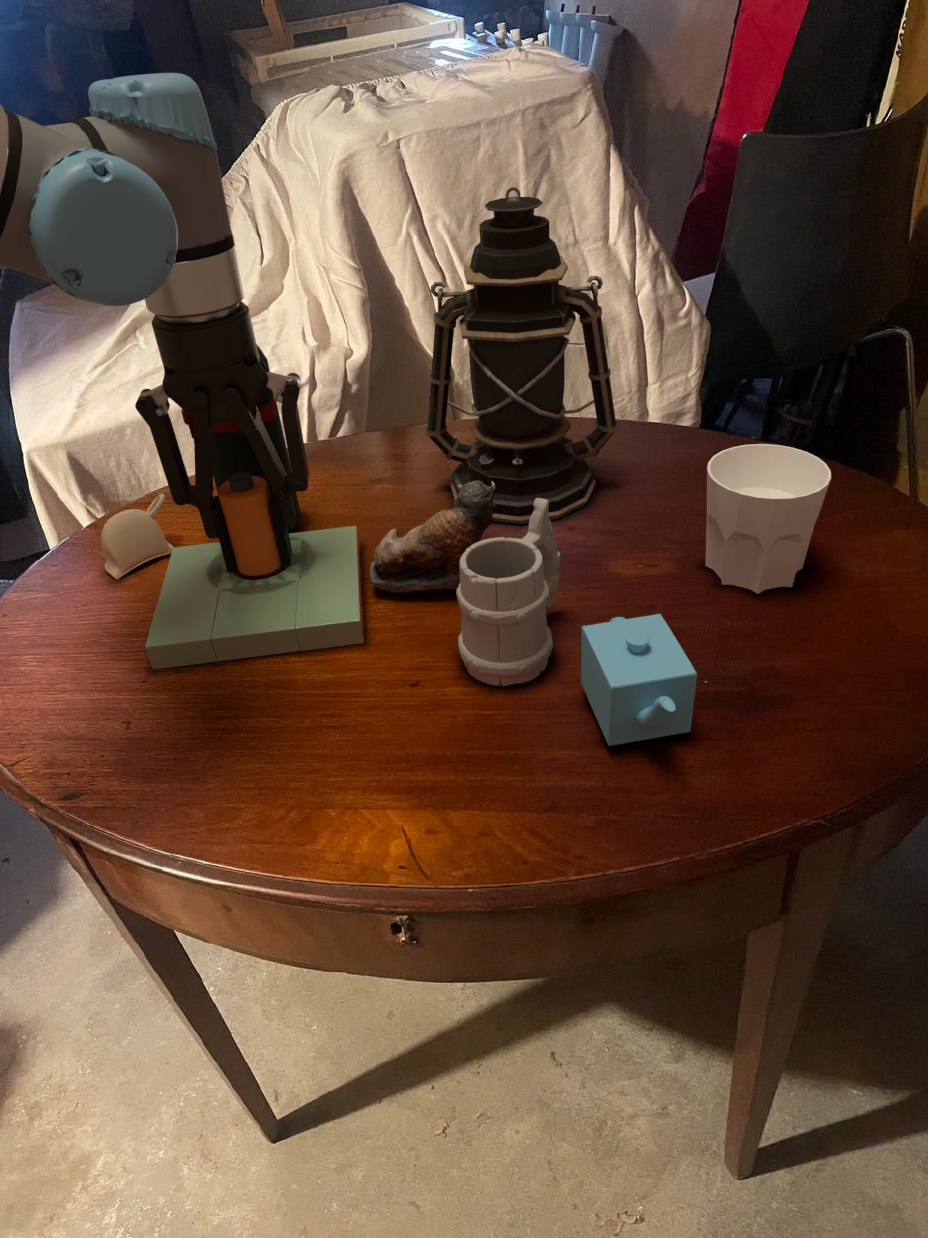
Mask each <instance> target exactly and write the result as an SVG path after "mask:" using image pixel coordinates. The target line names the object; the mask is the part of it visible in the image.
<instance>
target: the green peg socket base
mask: <svg viewBox="0 0 928 1238" xmlns="http://www.w3.org/2000/svg"><path fill="white" fill-rule="evenodd" d="M358 533H359V532H358V527H357V525H351V526H350V525H349V526H340V527H333V528H332V527H331V528H324V529H316V530H308V531H299V532H298V533H290V534H289V538H290V543H291V547H292V556H291V565H284V566H283V565H282V566H281V567H280V568H278V569H277V570H279V571H281V572H279V573H277V574H275V575H273V576H269V577H267V578H262V579H261V578H260V579H247V578H248V577H250V576H249V575H245V574H242V573H241V572H240V571H239V570H238V569H237V567H236V571H234V572H227V568H226V564H225V561H224V557H223V553H222V550H221V546H220V542H219V541H218V542H209V543H200V544H193V545H183V546H176V547H174V546H173V547H174V548H173V550H172V553H171V554H170V556H169V557H170V558H169V560H168V564H167V568H166V571H165V576H164V578H163V582H162V586H161V589H160V593H159V596H158V600H157V603H156V606H155V611H154V614H153V617H152V620H151V623H150V628H149V630H148V636H147V638H146V642H145V646H144V649H145V652H146V655H147V657H148V660H149V663H150V666H151V669H152V670H153V671H154V670H155V671H156V670H162V669H171V668H176V667H177V668H178V667H186V666H192V665H193V666H194V665H202V664H209V663H210V664H211V663H217V662H224V661H233V660H242V659H249V658H257V657H264V656H272V655H279V654H280V655H281V654H288V653H289V654H290V653H297V652H304V651H313V650H320V649H329V648H337V647H344V646H353V645H359V644H365V636H364V633H365V632H364V613H363V612H364V611H363V609H364V608H363V590H362V566H361V546H360V539H359V534H358Z"/></svg>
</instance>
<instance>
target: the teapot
mask: <svg viewBox="0 0 928 1238" xmlns="http://www.w3.org/2000/svg"><path fill="white" fill-rule="evenodd" d="M580 641H581V645H580V647H581V649H580V658H581V659H580V684H581V686H582V688H583V691H584V693H585V696H586V697H587V700H588V703H589V705H590V707H591V709H592V711H593V714H594V716H595V718H596V720H597V723H598V725H599V728H600V730H601V733H602V734H603V737H604V740H605V741H606V744H607V746H608V747H610V746H617V745H622V744H628V743H633V742H640V741H646V740H651V739H656V738H662V737H669V736H675V735H680V734H685V733H690V732H691V730H692V720H693V714H694V704H695V697H696V689H697V680H698V673H697V671H696V670H695V668H694V666H693V664H692V663H691V661H690V659H689V658H688V656H687V655H686V653H685V651H684V649H683V648H682V646H681V644H680V643H679V641H678V640H677V638H676V636H675V635H674V633H673V632H672V630H671V628H670V626H669V625H668V623H667V622H666V620H665V619H664V617H663V616H662V614H661V613H656V614H650V615H643V616H636V617H631V618H626V617H624V616H615V617H613V618H611V619H610V620H609V621H605V622H601V623H595V624H588V625H582V626H581V640H580Z"/></svg>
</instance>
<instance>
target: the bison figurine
mask: <svg viewBox="0 0 928 1238" xmlns="http://www.w3.org/2000/svg"><path fill="white" fill-rule="evenodd" d="M491 484H492V485H491V487H489V486H486V485H485V484H484V483H483V482H482V481H472V482H469V483H467V484H465V485H462V482H460V483H459V485H458V490H459V494H458V496H457V499H453V500H452V503H453V508H450V509H443V510H441V511H438V512H436V513H435V514H434V515H433V516H431V517H429V518H428V519H427V520H426V521H425V522H424V523H423V524H421V525H417V526H416V527H414V528H412V529H410V530H409V531H408V532H407V533H406V534H405V535H403V536H402V537H401V536H400V535H399V529H397V528H392V529H390V530H389V531H388V532H387V533H386V535H384V537H383V538H382V539H381V540H380V542H379V543H378V545H377V546H376V548H375V549H374V551H373V555H372V562H371V564H370V568H369V579H370V582H371V584H372V586H373V587H375V588H377V589H379V590H382V591H388V592H392V593H397V594H403V593H405V594H406V593H411V592H419V591H420V592H421V591H422V592H423V591H424V592H425V591H426V592H427V591H437V590H447V589H448V590H453V589H457V588H458V587H459V584H460V558H461V556H462V555H463V554H464V553H465V551H466V549H467V548H469V547H470V546H471V545H473V544H475V543H477V542H479V541H482V540H481V539H482V538H483V535H484V533H485V530H487V529H488V528H489V527H490V526H491V525H492V524H493V523H494V522H495V521H494V519H493V509H494V508H496V505H495V501H494V500H493V495H494V492H495V484H494V482H493V481H491Z"/></svg>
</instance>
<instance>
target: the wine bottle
mask: <svg viewBox="0 0 928 1238" xmlns="http://www.w3.org/2000/svg"><path fill="white" fill-rule="evenodd" d="M256 345H257V349H258V354H259V356H260V358H261V360H262V361H263V363H264V364H265V365H266V366H267V368H268V371H269V372H271V370H270V366H269V361H268V358H267V356H266V355H265V354H264V352H263V351H262V349H261V347H260V346H259V345H258V343H256ZM257 408H258V410H259V413H260V416H261V420H262V422H263V424H264V426H265V428H266V431H267V433H268V435H269V437H270V439H271V441H272V443H273V445H274V448H275V450H276V452H277V454H278V456H279V458H280V460H281V462H282V465H283V467H284V469H285V471H286V473H287V475H289V474H291V473H292V470H291V465H290V459H289V454H288V448H287V443H286V438H285V433H284V430H283V429H284V428H283V426H282V425H283V424H282V421H281V416H280V411H279V408H278V402H277V401H275V399H274V397H273V392H272V390H271V389H270V388H268V387H266V388H265V390H264V392H263V394H262V396H261V398H260V400H259V402H258V404H257ZM180 412H181V416H182V420H183V423H184V424H185V425H186V426H188V428H189V432H190V436H191V439H193V440H194V437H193V418H192V417H191V416H190V415H189V414H188V413H187V412H185V411H184V410H183V409H182V408H181V410H180ZM212 443H213V482H214V485H215V489H216V492H218V488H219V487H220V486H221V485H222V484H223V483H225V482H227V481H229V477H230V476H231V475H233V474H235V473H239V472H248V473H250V474H251V476H257V477H261V478H263V479H265V480H266V481H267V484H268V488H269V492H270V490H271V489H272V488H271V486H270V484H269V482H268V480H267V478H266V476H265V474H264V471H263V469H262V467H261V465H260V463H259V461H258V459H257V457H256V455H255V453H254V451H253V449H252V447H251V445H250V443H249V441H248V439H247V437H246V435H244V434H243V432H242V430H241V428H240V426H239V424H238V423H235V424H234V423H226V422H224V423H221V424H218V425H216V426H212ZM292 496H293V501H294V506H295V511H296V515H297V517H296V525H295V528H294V529H288V533H289V534H290V533H298V532H300V530H301V528H302V527H303V524H304V522H303V518H302V513H301V509H300V504H299V500H298V495H297V492H296V493H294V494H293V495H292Z"/></svg>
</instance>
